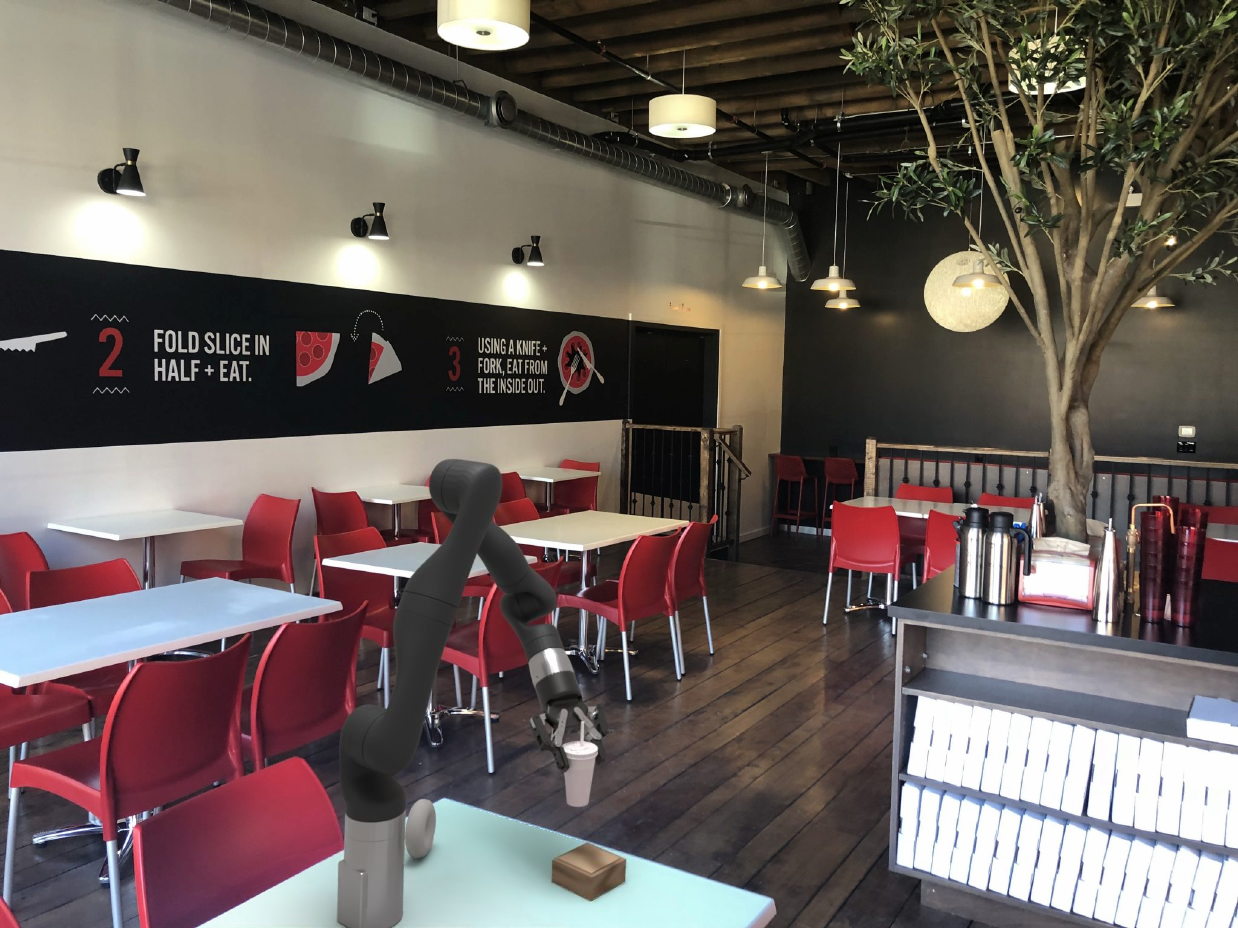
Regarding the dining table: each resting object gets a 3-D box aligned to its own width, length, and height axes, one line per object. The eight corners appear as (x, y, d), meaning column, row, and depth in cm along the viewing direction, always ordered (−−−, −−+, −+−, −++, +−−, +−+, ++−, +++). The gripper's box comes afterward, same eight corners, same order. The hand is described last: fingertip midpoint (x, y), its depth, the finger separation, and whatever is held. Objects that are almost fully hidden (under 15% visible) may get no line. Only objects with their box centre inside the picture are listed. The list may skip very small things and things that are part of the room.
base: (590, 900, 156) (591, 875, 156) (551, 881, 162) (552, 857, 162) (625, 881, 163) (626, 857, 163) (586, 863, 169) (587, 840, 169)
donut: (419, 841, 175) (421, 789, 174) (437, 843, 174) (439, 790, 174) (401, 867, 165) (402, 811, 164) (420, 869, 164) (422, 813, 164)
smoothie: (603, 802, 163) (606, 722, 162) (577, 813, 158) (580, 731, 157) (577, 790, 167) (580, 713, 166) (551, 801, 162) (553, 722, 161)
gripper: (525, 673, 164) (554, 764, 154) (596, 664, 171) (628, 750, 162) (511, 695, 168) (538, 783, 159) (581, 685, 176) (611, 769, 167)
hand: (584, 766), depth 161 cm, fingers closed on smoothie, 6 cm apart
